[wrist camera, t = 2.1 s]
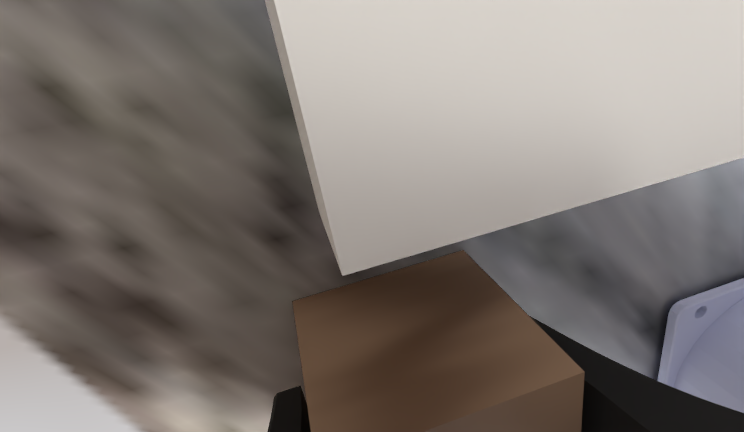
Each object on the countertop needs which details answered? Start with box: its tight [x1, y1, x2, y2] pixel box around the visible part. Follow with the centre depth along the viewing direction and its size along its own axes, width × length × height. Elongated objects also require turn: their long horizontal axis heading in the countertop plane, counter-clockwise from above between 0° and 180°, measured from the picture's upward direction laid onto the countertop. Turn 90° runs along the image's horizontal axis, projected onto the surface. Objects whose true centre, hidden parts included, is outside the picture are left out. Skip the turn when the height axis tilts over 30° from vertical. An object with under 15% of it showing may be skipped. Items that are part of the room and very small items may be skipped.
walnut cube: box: [292, 250, 585, 432], centre depth 10 cm, size 5×5×5 cm
